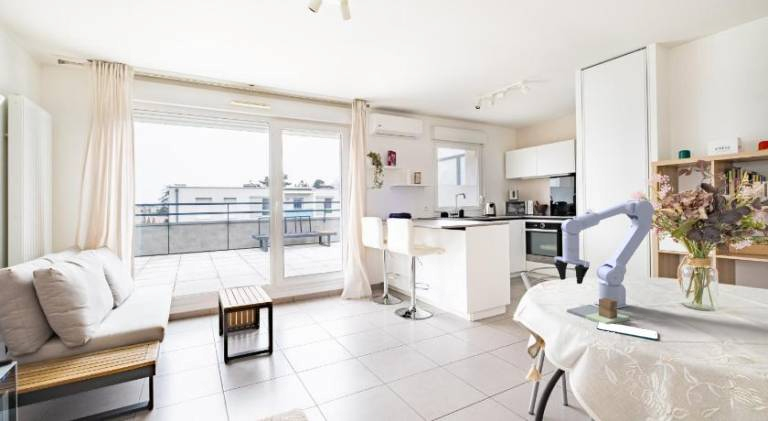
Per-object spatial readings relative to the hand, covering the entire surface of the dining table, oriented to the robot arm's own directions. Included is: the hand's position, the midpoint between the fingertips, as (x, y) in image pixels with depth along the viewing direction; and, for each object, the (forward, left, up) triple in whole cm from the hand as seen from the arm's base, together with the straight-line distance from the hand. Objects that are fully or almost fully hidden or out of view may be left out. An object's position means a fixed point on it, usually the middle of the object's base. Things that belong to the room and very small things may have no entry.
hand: (571, 281), depth 139 cm
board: (+4, +14, -9) cm, 17 cm away
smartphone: (+9, +27, -10) cm, 30 cm away
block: (+4, +18, -8) cm, 20 cm away
